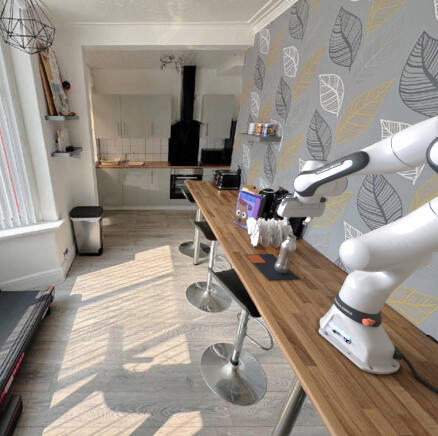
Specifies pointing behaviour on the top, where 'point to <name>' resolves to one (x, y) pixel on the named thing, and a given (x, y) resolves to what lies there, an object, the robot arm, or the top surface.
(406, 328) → the top surface
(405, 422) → the top surface
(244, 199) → the cereal box
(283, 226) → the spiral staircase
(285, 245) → the plastic bottle
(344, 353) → the robot arm
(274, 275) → the mat
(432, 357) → the top surface
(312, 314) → the top surface
